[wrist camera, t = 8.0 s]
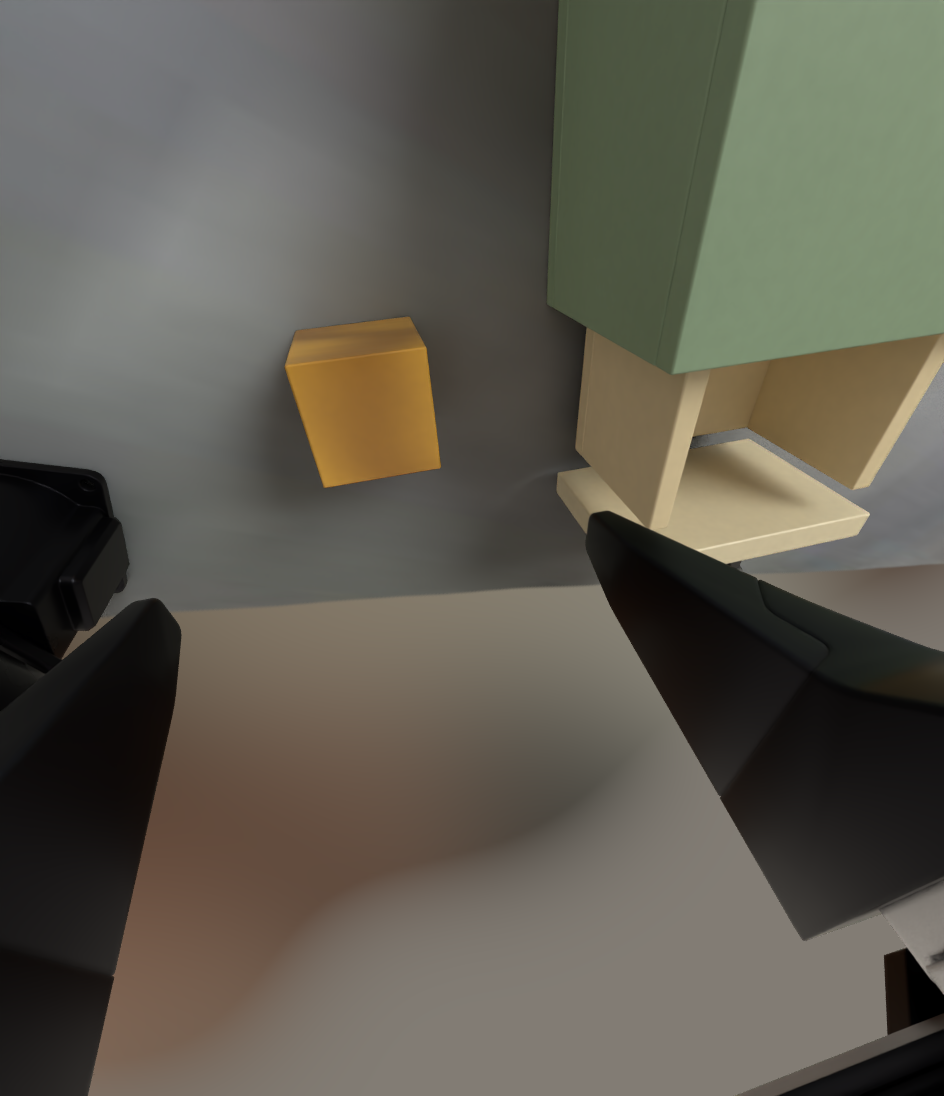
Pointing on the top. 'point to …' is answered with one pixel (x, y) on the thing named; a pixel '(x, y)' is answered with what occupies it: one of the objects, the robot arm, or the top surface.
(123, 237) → the top surface
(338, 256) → the top surface
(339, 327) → the block
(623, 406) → the drawer
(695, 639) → the robot arm
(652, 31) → the cabinet
